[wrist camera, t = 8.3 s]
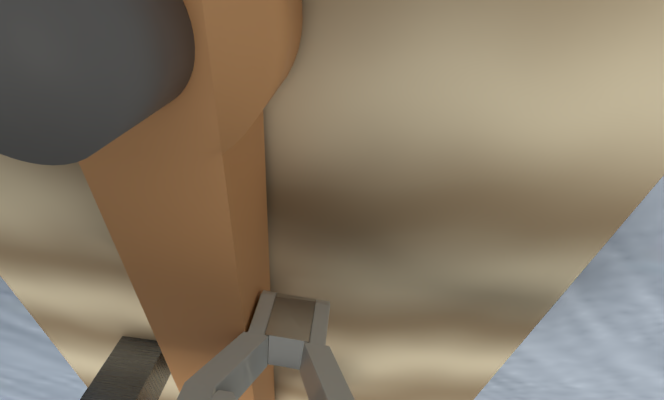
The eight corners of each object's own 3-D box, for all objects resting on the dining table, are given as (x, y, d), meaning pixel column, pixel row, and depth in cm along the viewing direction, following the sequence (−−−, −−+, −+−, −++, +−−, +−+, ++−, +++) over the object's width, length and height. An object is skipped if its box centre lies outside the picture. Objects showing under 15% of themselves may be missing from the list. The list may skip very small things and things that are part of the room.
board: (-333, -297, 6) (-495, -359, 5) (848, -151, 6) (964, -180, 5) (114, 383, 24) (101, 405, 23) (427, 425, 24) (430, 449, 23)
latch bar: (37, -165, 6) (-702, -475, 2) (307, -136, 6) (174, -392, 2) (213, 402, 20) (176, 509, 16) (290, 412, 20) (272, 522, 16)
